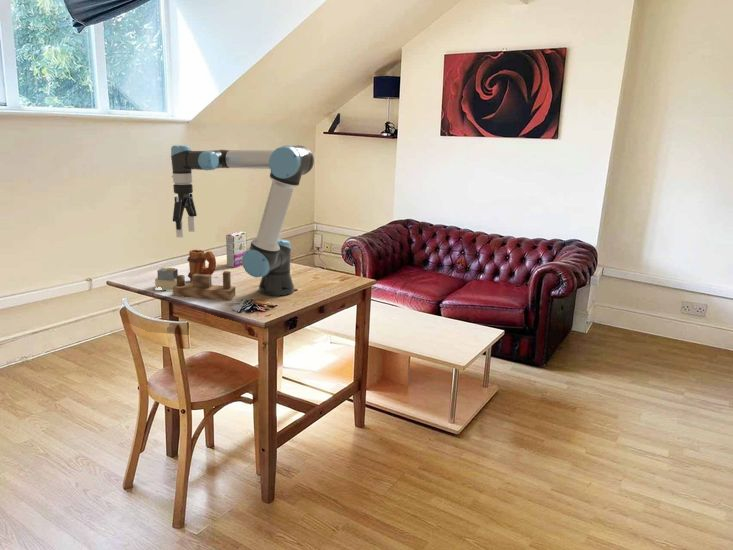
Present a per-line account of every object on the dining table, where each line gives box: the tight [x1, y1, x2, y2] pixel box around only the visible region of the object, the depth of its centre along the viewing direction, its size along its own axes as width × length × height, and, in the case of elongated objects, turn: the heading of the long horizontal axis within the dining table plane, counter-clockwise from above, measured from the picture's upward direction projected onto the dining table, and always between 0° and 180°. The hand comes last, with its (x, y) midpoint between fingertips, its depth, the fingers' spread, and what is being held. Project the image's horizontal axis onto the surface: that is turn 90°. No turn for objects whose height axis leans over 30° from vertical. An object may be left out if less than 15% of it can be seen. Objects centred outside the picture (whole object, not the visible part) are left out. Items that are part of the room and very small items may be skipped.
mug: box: [187, 249, 217, 283], centre depth 253 cm, size 15×8×15 cm, turn 62°
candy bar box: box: [225, 231, 248, 269], centre depth 286 cm, size 11×5×16 cm, turn 157°
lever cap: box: [156, 267, 179, 281], centre depth 243 cm, size 7×4×5 cm, turn 85°
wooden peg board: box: [172, 270, 237, 302], centre depth 235 cm, size 24×7×11 cm, turn 85°
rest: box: [154, 277, 177, 292], centre depth 245 cm, size 10×10×4 cm
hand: (186, 234), depth 240 cm, fingers open, 13 cm apart
